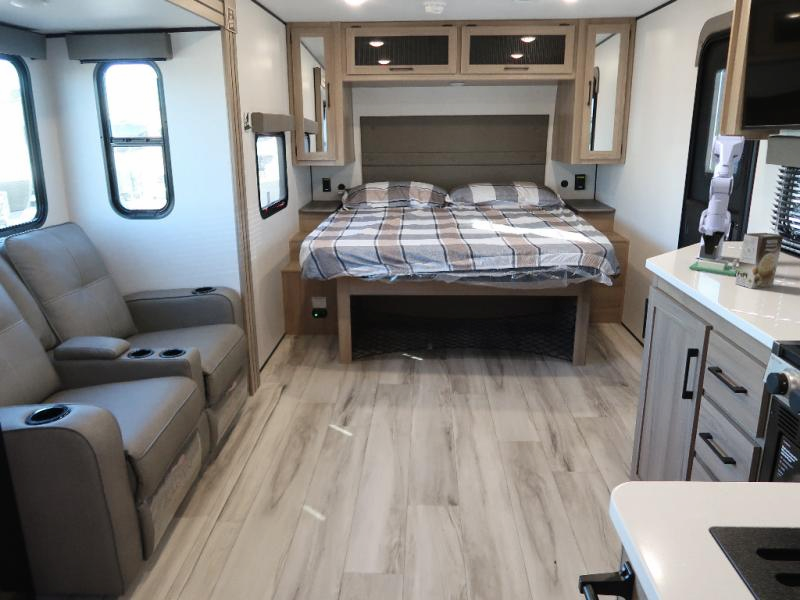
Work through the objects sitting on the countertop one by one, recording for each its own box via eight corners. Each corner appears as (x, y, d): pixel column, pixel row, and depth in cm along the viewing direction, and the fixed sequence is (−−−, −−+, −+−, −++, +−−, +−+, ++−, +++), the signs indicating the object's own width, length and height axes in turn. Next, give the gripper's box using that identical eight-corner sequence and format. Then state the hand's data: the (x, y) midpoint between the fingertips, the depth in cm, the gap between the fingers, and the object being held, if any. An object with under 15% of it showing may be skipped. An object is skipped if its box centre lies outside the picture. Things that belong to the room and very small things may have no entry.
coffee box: (752, 289, 187) (762, 237, 182) (734, 283, 192) (743, 233, 188) (773, 286, 190) (784, 235, 185) (755, 281, 196) (765, 232, 191)
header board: (697, 263, 218) (699, 251, 217) (741, 270, 210) (743, 257, 209) (689, 269, 209) (691, 256, 208) (734, 276, 201) (736, 263, 200)
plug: (701, 255, 213) (703, 244, 212) (717, 257, 210) (719, 246, 209) (699, 257, 210) (701, 245, 209) (714, 259, 207) (716, 247, 206)
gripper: (709, 210, 214) (702, 248, 218) (698, 214, 203) (692, 254, 207) (731, 212, 209) (724, 251, 213) (721, 217, 199) (714, 257, 202)
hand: (710, 253), depth 210 cm, fingers closed on plug, 4 cm apart
